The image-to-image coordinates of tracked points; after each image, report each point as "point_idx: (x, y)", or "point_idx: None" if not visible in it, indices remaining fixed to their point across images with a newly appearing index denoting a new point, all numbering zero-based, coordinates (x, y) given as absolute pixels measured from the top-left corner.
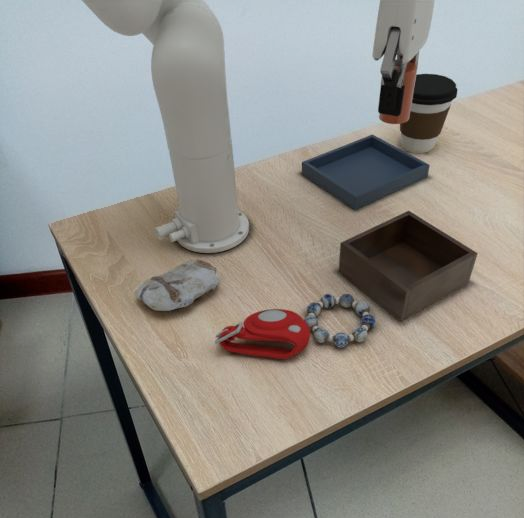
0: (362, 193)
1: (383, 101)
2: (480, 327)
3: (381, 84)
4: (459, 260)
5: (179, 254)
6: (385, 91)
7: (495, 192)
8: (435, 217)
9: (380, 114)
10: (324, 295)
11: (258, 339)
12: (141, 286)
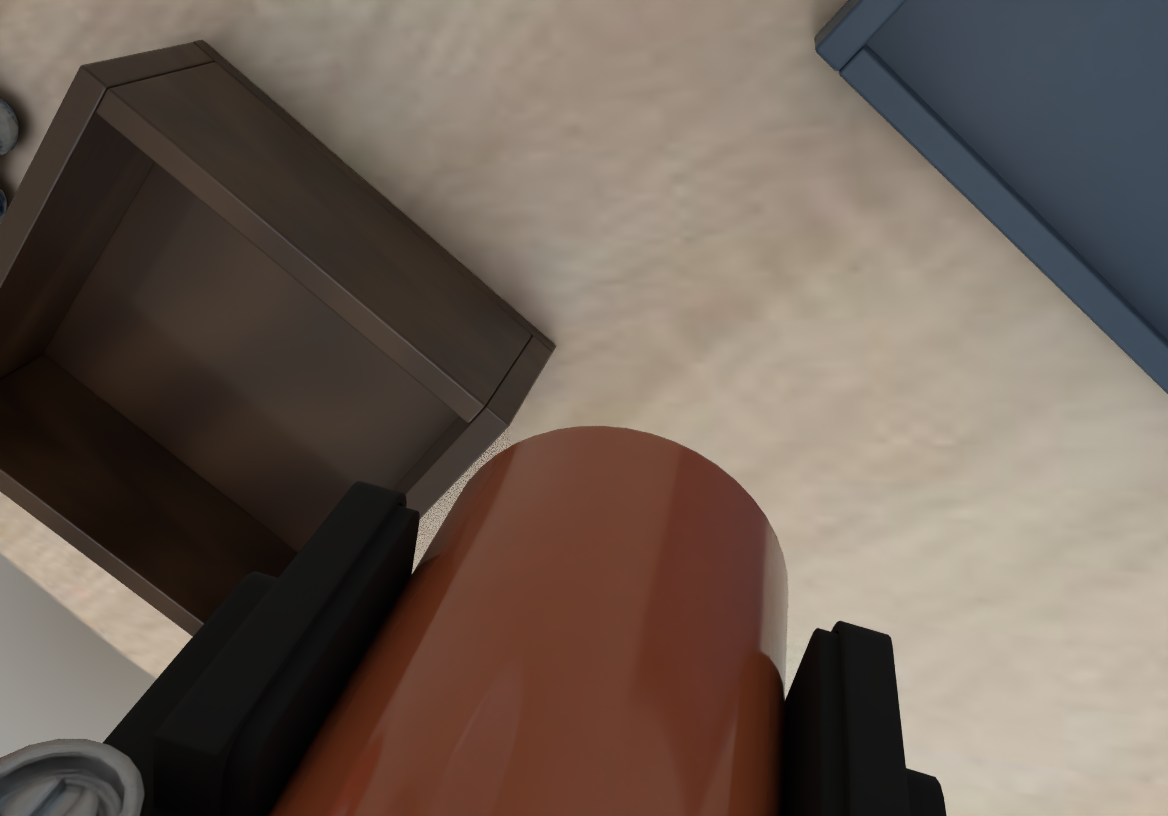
0: (869, 91)
1: (204, 624)
2: (124, 596)
3: (17, 757)
4: (182, 619)
5: None
6: (123, 734)
7: (1062, 769)
8: (789, 496)
9: (510, 467)
10: None
11: None
12: None
